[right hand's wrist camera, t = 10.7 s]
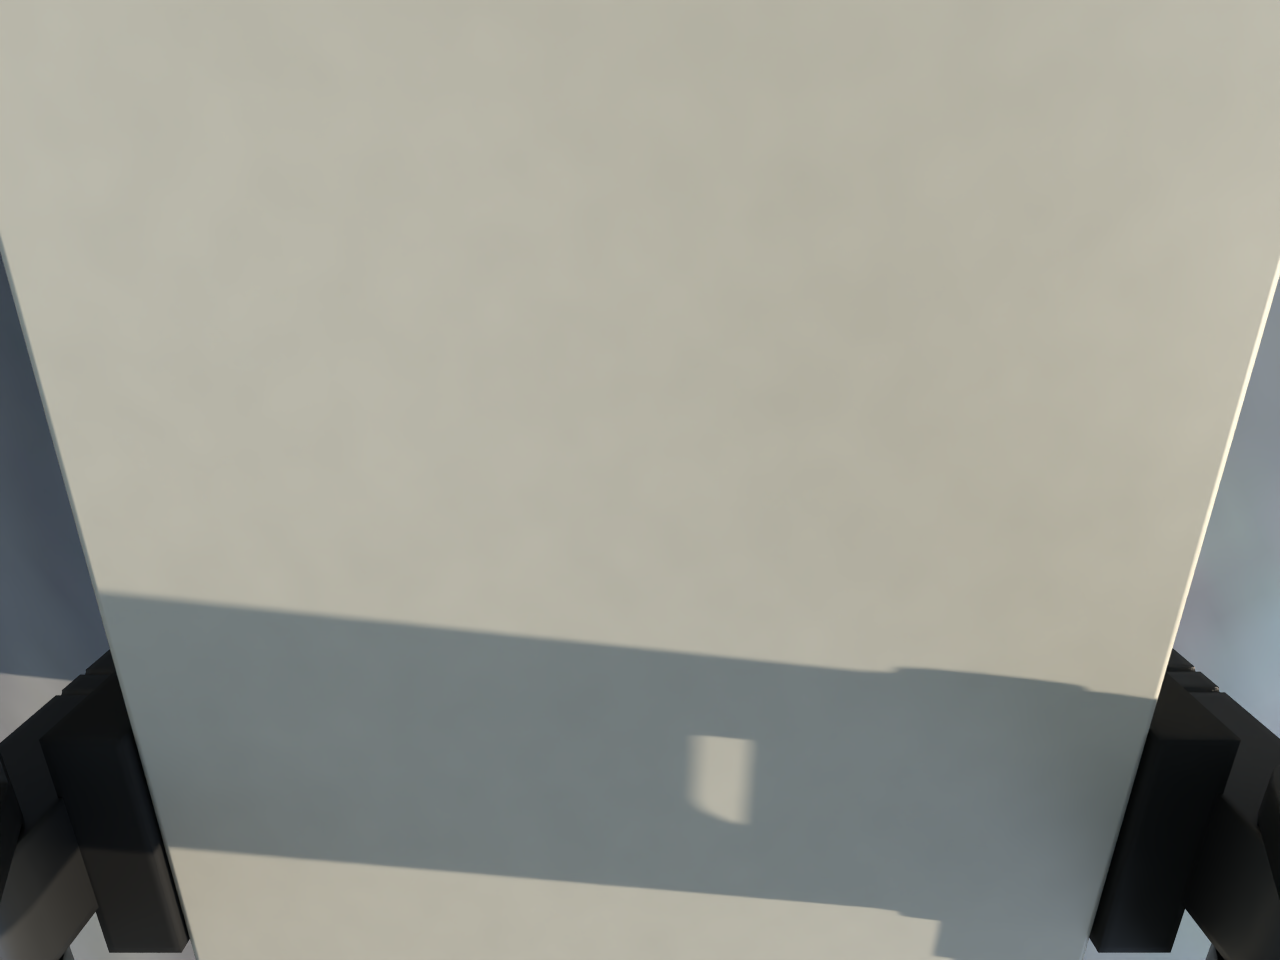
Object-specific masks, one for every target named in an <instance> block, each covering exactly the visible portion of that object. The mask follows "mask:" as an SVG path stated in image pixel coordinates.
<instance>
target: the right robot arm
mask: <svg viewBox="0 0 1280 960" xmlns="http://www.w3.org/2000/svg"><path fill="white" fill-rule="evenodd" d="M1185 909H1186V910H1187V911H1188V913H1189V914H1190V915H1191V917H1192V918H1193V919H1194V921H1195V922H1196V923H1197V924H1198V926H1199V927H1200V928H1201V930H1202V931H1203V932H1204V934H1205V935H1206V936H1207V938H1208V939H1209V940H1210V941H1211V946H1210V949H1209V952H1208V955H1207V957H1206V960H1280V739H1279V738H1278V737H1277V736H1276V735H1275V734H1273V733H1272V732H1271V731H1270V730H1269V729H1267V728H1266V727H1265V726H1264V725H1263V724H1262V723H1260V722H1259V721H1258V720H1257V719H1256V718H1254V717H1253V716H1252V715H1251V714H1250V713H1249V712H1247V711H1246V710H1245V709H1244V708H1243V707H1241V706H1240V705H1239V704H1238V703H1237V702H1236V701H1234V700H1233V699H1232V698H1231V697H1230V696H1228V695H1227V694H1226V693H1220V692H1219V687H1218V686H1217V685H1215V684H1214V683H1213V682H1212V681H1211V680H1210V679H1208V678H1207V677H1206V676H1205V675H1204V674H1202V673H1201V672H1195V667H1194V666H1193V665H1192V664H1191V663H1189V662H1188V661H1187V660H1186V659H1185V658H1184V657H1182V656H1181V655H1180V654H1179V653H1178V652H1176V651H1175V650H1174V649H1173V648H1172V651H1171V654H1170V658H1169V661H1168V665H1167V668H1166V672H1165V675H1164V679H1163V682H1162V686H1161V689H1160V693H1159V696H1158V700H1157V703H1156V707H1155V710H1154V714H1153V717H1152V720H1151V724H1150V727H1149V731H1148V734H1147V738H1146V741H1145V745H1144V748H1143V752H1142V755H1141V759H1140V762H1139V766H1138V769H1137V773H1136V776H1135V780H1134V783H1133V787H1132V790H1131V794H1130V797H1129V800H1128V804H1127V807H1126V811H1125V814H1124V818H1123V821H1122V825H1121V828H1120V832H1119V835H1118V839H1117V842H1116V846H1115V849H1114V853H1113V856H1112V860H1111V863H1110V867H1109V870H1108V874H1107V877H1106V881H1105V884H1104V887H1103V891H1102V894H1101V898H1100V901H1099V905H1098V908H1097V912H1096V915H1095V919H1094V922H1093V926H1092V929H1091V933H1090V936H1089V938H1090V939H1091V941H1092V943H1093V944H1094V946H1095V948H1096V949H1097V951H1098V953H1171V950H1172V947H1173V943H1174V940H1175V937H1176V934H1177V931H1178V928H1179V925H1180V922H1181V919H1182V916H1183V913H1184V910H1185ZM95 912H96V914H97V917H98V920H99V923H100V926H101V929H102V932H103V935H104V938H105V941H106V944H107V947H108V950H109V953H181V952H182V951H183V949H184V948H185V946H186V944H187V943H188V941H189V939H190V937H189V933H188V929H187V926H186V922H185V919H184V915H183V911H182V908H181V904H180V900H179V897H178V893H177V890H176V886H175V882H174V879H173V875H172V871H171V868H170V864H169V861H168V857H167V853H166V850H165V846H164V842H163V839H162V835H161V832H160V828H159V824H158V821H157V817H156V814H155V810H154V806H153V803H152V799H151V795H150V792H149V788H148V785H147V781H146V777H145V774H144V770H143V766H142V763H141V759H140V756H139V752H138V748H137V745H136V741H135V737H134V734H133V730H132V727H131V723H130V719H129V716H128V712H127V708H126V705H125V701H124V698H123V694H122V690H121V687H120V683H119V680H118V676H117V672H116V669H115V665H114V661H113V658H112V654H111V651H110V650H109V651H107V652H106V653H105V654H104V655H103V656H102V657H100V658H99V659H98V660H97V661H96V662H95V663H93V664H92V665H91V666H90V667H89V668H88V669H86V674H85V675H79V676H78V677H77V678H76V679H75V680H73V681H72V682H71V683H70V684H69V685H68V686H66V687H65V688H64V689H63V690H62V695H56V696H55V697H54V698H52V699H51V700H50V701H49V702H48V703H46V704H45V705H44V706H43V707H42V708H41V709H39V710H38V711H37V712H36V713H35V714H34V715H32V716H31V717H30V718H29V719H28V720H27V721H25V722H24V723H23V724H22V725H21V726H19V727H18V728H17V729H16V730H15V731H14V732H12V733H11V734H10V735H9V736H8V737H7V738H5V739H4V740H3V741H2V742H1V743H0V960H74V958H73V955H72V952H71V949H70V944H71V943H72V942H73V940H74V939H75V938H76V937H77V935H78V934H79V933H80V931H81V930H82V929H83V927H84V926H85V925H86V923H87V922H88V921H89V920H90V918H91V917H92V916H93V914H94V913H95Z"/></svg>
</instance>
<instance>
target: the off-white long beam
mask: <svg viewBox="0 0 1280 960" xmlns="http://www.w3.org/2000/svg"><path fill="white" fill-rule="evenodd" d="M0 252H1V256H2V259H3V263H4V267H5V270H6V274H7V278H8V281H9V285H10V288H11V292H12V296H13V299H14V303H15V307H16V310H17V314H18V317H19V321H20V325H21V328H22V332H23V336H24V339H25V343H26V346H27V350H28V354H29V357H30V361H31V364H32V368H33V372H34V375H35V379H36V383H37V386H38V390H39V393H40V397H41V401H42V404H43V408H44V412H45V415H46V419H47V422H48V426H49V430H50V433H51V437H52V441H53V444H54V448H55V451H56V455H57V459H58V462H59V466H60V469H61V473H62V477H63V480H64V484H65V488H66V491H67V495H68V498H69V502H70V506H71V509H72V513H73V517H74V520H75V524H76V527H77V531H78V535H79V538H80V542H81V546H82V549H83V553H84V556H85V560H86V564H87V567H88V571H89V575H90V578H91V582H92V585H93V589H94V593H95V596H96V600H97V603H98V607H99V611H100V614H101V618H102V622H103V625H104V629H105V632H106V636H107V640H108V643H109V647H110V651H111V654H112V658H113V661H114V665H115V669H116V672H117V676H118V680H119V683H120V687H121V690H122V694H123V698H124V701H125V705H126V708H127V712H128V716H129V719H130V723H131V727H132V730H133V734H134V737H135V741H136V745H137V748H138V752H139V756H140V759H141V763H142V766H143V770H144V774H145V777H146V781H147V785H148V788H149V792H150V795H151V799H152V803H153V806H154V810H155V814H156V817H157V821H158V824H159V828H160V832H161V835H162V839H163V842H164V846H165V850H166V853H167V857H168V861H169V864H170V868H171V871H172V875H173V879H174V882H175V886H176V890H177V893H178V897H179V900H180V904H181V908H182V911H183V915H184V919H185V922H186V926H187V929H188V933H189V937H190V940H191V944H192V947H193V951H194V955H195V958H196V960H1083V957H1084V954H1085V950H1086V947H1087V943H1088V940H1089V936H1090V933H1091V929H1092V926H1093V922H1094V919H1095V915H1096V912H1097V908H1098V905H1099V901H1100V898H1101V894H1102V891H1103V887H1104V884H1105V881H1106V877H1107V874H1108V870H1109V867H1110V863H1111V860H1112V856H1113V853H1114V849H1115V846H1116V842H1117V839H1118V835H1119V832H1120V828H1121V825H1122V821H1123V818H1124V814H1125V811H1126V807H1127V804H1128V800H1129V797H1130V794H1131V790H1132V787H1133V783H1134V780H1135V776H1136V773H1137V769H1138V766H1139V762H1140V759H1141V755H1142V752H1143V748H1144V745H1145V741H1146V738H1147V734H1148V731H1149V727H1150V724H1151V720H1152V717H1153V714H1154V710H1155V707H1156V703H1157V700H1158V696H1159V693H1160V689H1161V686H1162V682H1163V679H1164V675H1165V672H1166V668H1167V665H1168V661H1169V658H1170V654H1171V651H1172V647H1173V644H1174V640H1175V637H1176V633H1177V630H1178V627H1179V623H1180V620H1181V616H1182V613H1183V609H1184V606H1185V602H1186V599H1187V595H1188V592H1189V588H1190V585H1191V581H1192V578H1193V574H1194V571H1195V567H1196V564H1197V560H1198V557H1199V553H1200V550H1201V547H1202V543H1203V540H1204V536H1205V533H1206V529H1207V526H1208V522H1209V519H1210V515H1211V512H1212V508H1213V505H1214V501H1215V498H1216V494H1217V491H1218V487H1219V484H1220V480H1221V477H1222V473H1223V470H1224V467H1225V463H1226V460H1227V456H1228V453H1229V449H1230V446H1231V442H1232V439H1233V435H1234V432H1235V428H1236V425H1237V421H1238V418H1239V414H1240V411H1241V407H1242V404H1243V400H1244V397H1245V393H1246V390H1247V386H1248V383H1249V380H1250V376H1251V373H1252V369H1253V366H1254V362H1255V359H1256V355H1257V352H1258V348H1259V345H1260V341H1261V338H1262V334H1263V331H1264V327H1265V324H1266V320H1267V317H1268V313H1269V310H1270V306H1271V303H1272V300H1273V296H1274V293H1275V289H1276V286H1277V282H1278V279H1279V275H1280V0H0Z"/></svg>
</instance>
